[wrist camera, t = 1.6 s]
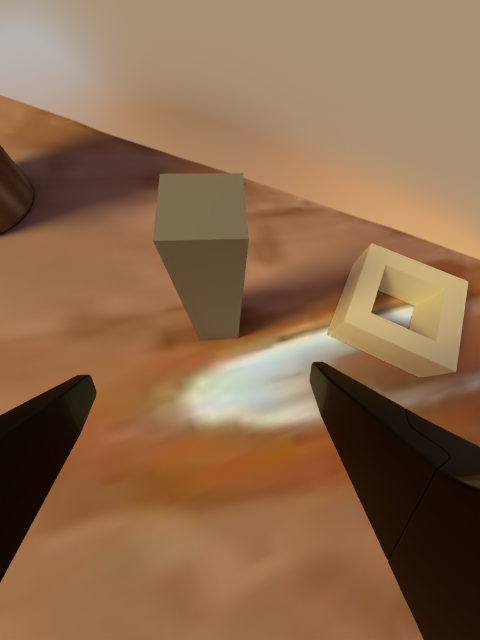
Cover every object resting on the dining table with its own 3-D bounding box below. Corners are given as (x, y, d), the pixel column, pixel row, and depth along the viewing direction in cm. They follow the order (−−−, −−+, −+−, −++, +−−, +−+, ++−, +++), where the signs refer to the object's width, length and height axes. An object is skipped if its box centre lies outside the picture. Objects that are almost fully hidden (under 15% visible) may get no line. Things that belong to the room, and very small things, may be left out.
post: (238, 338, 24) (248, 238, 10) (199, 340, 23) (153, 240, 9) (236, 303, 25) (242, 173, 11) (200, 305, 25) (159, 173, 11)
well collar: (434, 299, 26) (468, 281, 22) (419, 377, 23) (456, 372, 19) (352, 265, 27) (371, 242, 24) (326, 334, 24) (344, 321, 20)
